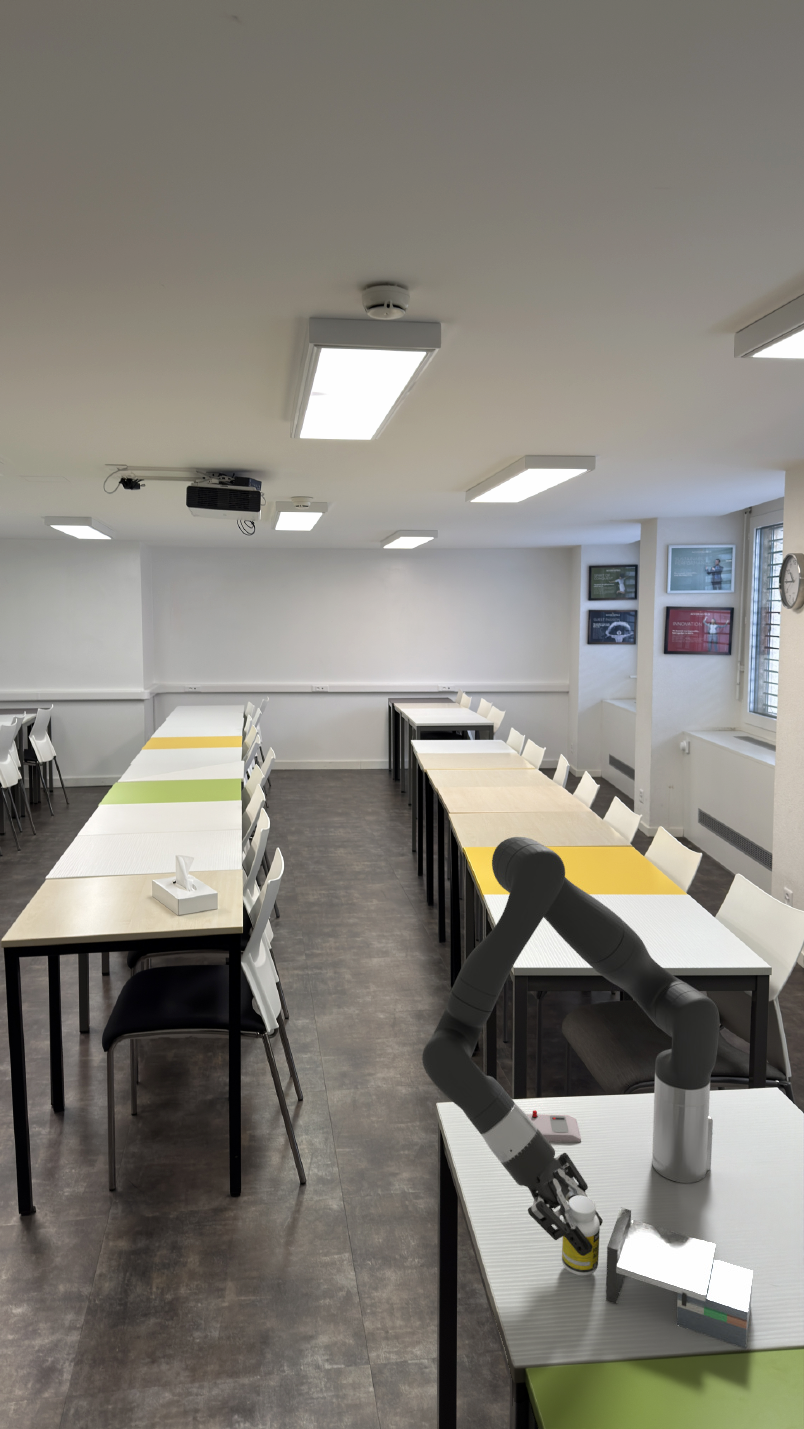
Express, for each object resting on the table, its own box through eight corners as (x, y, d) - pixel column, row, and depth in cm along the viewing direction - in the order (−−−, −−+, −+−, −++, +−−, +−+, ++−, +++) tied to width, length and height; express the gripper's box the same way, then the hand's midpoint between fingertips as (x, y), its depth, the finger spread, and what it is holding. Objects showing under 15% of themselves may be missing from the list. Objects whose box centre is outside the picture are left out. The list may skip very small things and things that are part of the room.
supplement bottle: (598, 1279, 130) (600, 1219, 129) (561, 1274, 131) (562, 1213, 130) (598, 1252, 136) (600, 1194, 134) (562, 1247, 137) (563, 1189, 135)
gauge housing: (676, 1326, 123) (677, 1290, 123) (685, 1285, 131) (686, 1251, 130) (745, 1349, 120) (747, 1312, 119) (750, 1306, 127) (752, 1271, 126)
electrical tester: (591, 1144, 165) (591, 1129, 165) (506, 1142, 166) (506, 1127, 165) (585, 1123, 172) (585, 1108, 171) (504, 1121, 172) (504, 1106, 172)
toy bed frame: (604, 1304, 127) (606, 1249, 126) (620, 1255, 136) (622, 1204, 135) (703, 1338, 121) (706, 1281, 120) (713, 1284, 130) (715, 1231, 129)
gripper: (518, 1158, 128) (599, 1261, 124) (548, 1106, 141) (622, 1198, 137) (484, 1182, 131) (561, 1282, 127) (516, 1129, 144) (587, 1219, 140)
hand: (592, 1238), depth 132 cm, fingers closed on supplement bottle, 5 cm apart
